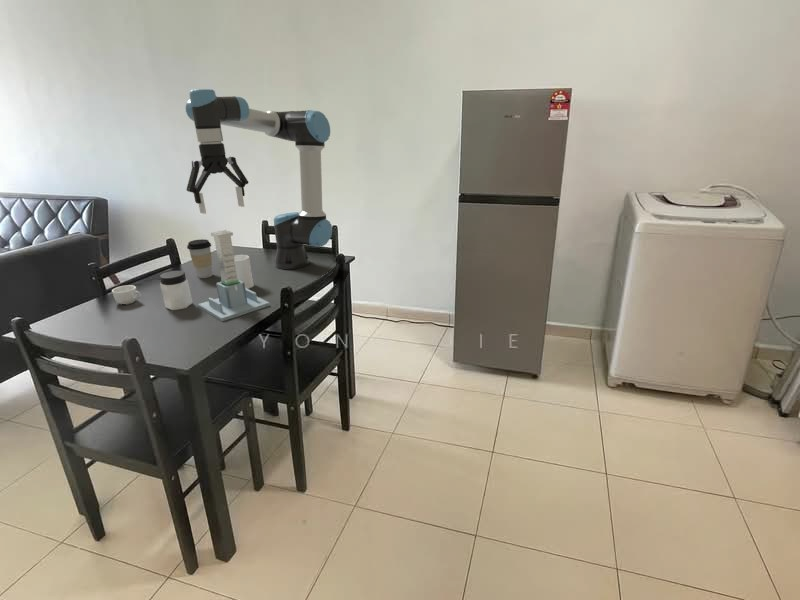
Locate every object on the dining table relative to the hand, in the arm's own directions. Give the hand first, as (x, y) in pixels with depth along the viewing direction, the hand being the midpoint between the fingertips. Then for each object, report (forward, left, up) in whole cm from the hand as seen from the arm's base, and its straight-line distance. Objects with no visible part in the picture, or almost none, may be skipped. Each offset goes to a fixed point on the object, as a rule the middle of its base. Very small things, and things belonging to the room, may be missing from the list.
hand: (222, 209), depth 152 cm
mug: (-8, -14, -34) cm, 38 cm away
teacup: (+27, -31, -34) cm, 53 cm away
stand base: (+3, +2, -34) cm, 34 cm away
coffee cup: (-5, -39, -34) cm, 52 cm away
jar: (+16, -14, -34) cm, 40 cm away
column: (+3, +2, -27) cm, 27 cm away
